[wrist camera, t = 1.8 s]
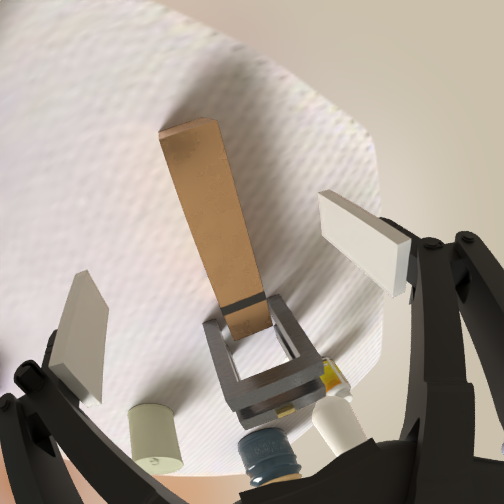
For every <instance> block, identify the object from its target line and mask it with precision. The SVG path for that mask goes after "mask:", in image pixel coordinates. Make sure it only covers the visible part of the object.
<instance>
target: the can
mask: <svg viewBox="0 0 504 504" xmlns="http://www.w3.org/2000/svg"><path fill="white" fill-rule="evenodd" d="M128 419H129V429H130V440H131V451H132V460H133V461H134V462H135V463H136V464H137V465H139V466H140V467H141V468H142V469H143V470H145V471H146V472H147V473H148V474H168V473H172V472H175V471H178V470H180V469H181V468H182V467H183V461H182V458H181V453H180V449H179V445H178V440H177V435H176V430H175V424H174V414H173V412H172V411H171V410H170V409H169V408H167V407H165V406H163V405H159V404H141V405H137V406H135V407H133V408H132V409H130V410H129V412H128Z"/></svg>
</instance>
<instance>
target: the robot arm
mask: <svg viewBox="0 0 504 504" xmlns="http://www.w3.org/2000/svg"><path fill="white" fill-rule="evenodd" d="M318 201H319V210H320V220H321V230H322V236H323V237H324V238H325V239H326V240H328V241H329V242H330V243H331V244H332V245H333V246H335V247H336V248H337V249H338V250H339V251H340V252H342V253H343V254H344V255H345V256H346V257H347V258H348V259H350V260H351V261H352V262H353V263H354V264H355V265H356V266H357V267H359V268H360V269H361V270H362V271H363V272H364V273H365V274H366V275H368V276H369V277H370V278H371V279H372V280H373V281H374V282H375V283H376V284H378V285H379V286H380V287H381V288H382V289H383V290H384V291H385V292H386V293H387V294H388V295H390V296H391V297H392V298H394V297H396V296H398V295H400V294H402V293H404V292H405V289H406V281H408V282H409V283H410V284H411V285H412V290H411V296H410V301H409V304H411V309H412V310H411V315H412V317H411V355H410V372H409V384H408V396H407V404H406V412H405V419H404V424H403V428H402V431H401V435H400V438H399V440H393V441H384V442H378V443H375V441H374V440H373V438H370V439H368V440H367V441H365V442H363V443H361V444H359V445H357V446H355V447H354V448H352V449H350V450H348V451H346V452H344V453H342V454H340V455H339V456H338V457H337V458H336V459H334V460H333V461H332V462H330V463H329V464H328V465H327V466H325V467H324V468H323V469H321V470H320V471H319V472H317V473H316V474H314V475H313V476H311V477H306V478H300V479H294V480H287V481H279V482H272V483H269V484H266V485H263V486H260V487H257V488H254V489H251V490H247V491H244V492H241V493H239V495H240V498H241V500H239V501H237V502H235V503H234V504H504V461H498V460H492V459H486V458H480V457H475V456H474V438H475V394H474V386H473V384H472V383H468V382H467V379H466V367H465V354H464V344H463V335H462V327H461V320H460V313H461V315H462V317H463V320H464V322H465V324H466V327H467V329H468V331H469V333H470V336H471V339H472V341H473V344H474V346H475V349H476V351H477V354H478V356H479V359H480V362H481V365H482V367H483V370H484V373H485V376H486V379H487V382H488V385H489V388H490V391H491V395H492V398H493V401H494V405H495V408H496V411H497V414H498V418H499V421H500V423H501V425H502V427H503V430H504V269H503V268H502V267H501V265H500V264H499V262H498V261H497V260H496V259H495V257H494V256H493V254H492V253H491V252H490V250H489V249H488V248H487V246H486V245H485V244H484V243H483V241H482V240H481V239H480V238H479V237H478V236H477V235H476V234H474V233H472V232H469V231H461V232H458V233H457V234H456V236H455V242H453V243H448V244H444V243H443V242H442V241H441V240H439V239H436V238H431V237H426V238H422V239H421V238H419V237H418V236H416V235H414V234H413V233H411V232H410V231H408V230H406V229H404V228H403V227H402V226H400V225H398V224H397V223H395V222H393V221H392V220H390V219H386V218H383V217H380V218H377V217H376V216H374V215H373V214H371V213H369V212H368V211H366V210H364V209H363V208H361V207H359V206H357V205H356V204H354V203H352V202H351V201H349V200H347V199H345V198H344V197H342V196H340V195H338V194H337V193H335V192H333V191H331V190H325V191H322V192H319V193H318ZM459 311H460V313H459ZM108 314H109V308H108V306H107V304H106V303H105V301H104V299H103V298H102V296H101V294H100V292H99V290H98V289H97V287H96V285H95V283H94V281H93V280H92V278H91V276H90V274H89V272H88V270H85V271H82V272H80V273H77V274H76V275H75V277H74V280H73V283H72V286H71V289H70V292H69V295H68V298H67V301H66V304H65V307H64V310H63V313H62V317H61V320H60V323H59V327H58V329H56V330H54V331H53V333H52V334H51V336H50V338H49V340H48V344H47V348H46V351H45V355H44V359H43V363H42V367H41V368H40V367H39V366H38V364H37V363H36V362H35V361H33V360H27V361H25V362H23V363H22V364H21V365H20V366H19V367H18V368H17V370H16V372H15V374H14V383H15V384H16V385H17V386H18V387H19V388H20V389H21V390H22V391H23V392H24V393H25V395H23V396H22V397H20V398H18V399H17V398H16V397H15V396H14V395H13V394H11V393H6V394H4V395H3V396H2V397H0V443H1V449H2V454H3V458H4V463H5V467H6V471H7V475H8V479H9V482H10V486H11V489H12V493H13V495H14V499H15V502H16V504H84V503H83V501H82V499H81V497H80V495H79V493H78V491H77V489H76V487H75V485H74V483H73V481H72V479H71V477H70V474H69V472H68V470H67V468H66V465H65V463H64V461H63V458H62V456H61V453H60V451H59V448H58V446H57V443H58V445H59V446H60V447H61V449H62V450H63V451H64V453H65V454H66V455H67V457H68V458H69V459H70V461H71V462H72V463H73V464H74V466H75V467H76V468H77V469H78V471H79V472H80V473H81V474H82V475H83V477H84V478H85V479H86V480H87V481H88V482H89V484H90V485H91V486H92V487H93V488H94V489H95V490H96V491H97V493H98V494H99V495H100V496H101V497H102V498H103V499H104V500H105V501H106V502H107V503H108V504H189V503H187V502H186V501H184V500H183V499H181V498H180V497H178V496H177V495H176V494H174V493H173V492H171V491H170V490H169V489H167V488H166V487H165V486H163V485H162V484H161V483H160V482H158V481H157V480H155V479H154V478H153V477H152V476H151V475H149V474H148V473H147V472H146V471H145V470H143V469H142V468H141V467H140V466H139V465H137V464H136V463H135V462H134V461H133V460H132V459H131V458H129V457H128V456H127V455H126V454H125V453H124V452H123V451H122V450H121V449H120V448H118V447H117V446H116V445H115V444H114V443H113V442H112V441H111V440H110V439H109V438H108V437H107V436H106V435H105V434H104V433H103V432H102V431H101V430H100V429H99V428H98V427H97V426H96V425H95V424H94V423H93V422H92V421H91V419H90V418H89V417H88V416H87V415H86V414H85V413H84V412H83V411H82V410H81V409H80V408H79V400H80V401H81V402H82V403H83V404H84V405H85V406H86V407H92V406H97V405H102V381H103V364H104V351H105V340H106V331H107V322H108ZM56 442H57V443H56ZM501 449H502V453H503V455H504V443H503V444H502V448H501Z"/></svg>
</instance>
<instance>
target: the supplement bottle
mask: <svg viewBox="0 0 504 504" xmlns="http://www.w3.org/2000/svg"><path fill="white" fill-rule="evenodd" d="M322 359H323V364H324V375H322V376H320V378H321V380H322V381H323V383H324V384H325V386H326V396H327V395H329V396H338V397H342V398H344V399H346V400H347V401H348V402H349V403H350V402H351V401H352V399H353V396H352V395H351V393H350V389H351V386H350V384H349V383H348V381H347V380H346V378H345V377H344V375H343V374H342V372H341V371H340V370H339V368H338V367H337V365H336V364H335V362H334V361H333V360H332V359H331V358H329V357H325V358H322Z"/></svg>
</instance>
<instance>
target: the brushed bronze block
mask: <svg viewBox="0 0 504 504" xmlns="http://www.w3.org/2000/svg"><path fill="white" fill-rule="evenodd" d="M158 133H159V141H160V144H161V147H162V150H163V153H164V156H165V159H166V162H167V165H168V168H169V171H170V174H171V177H172V180H173V183H174V186H175V189H176V191H177V194H178V197H179V200H180V203H181V206H182V208H183V211H184V214H185V217H186V219H187V222H188V225H189V228H190V230H191V233H192V236H193V238H194V241H195V244H196V246H197V249H198V252H199V254H200V257H201V260H202V262H203V265H204V267H205V270H206V272H207V275H208V278H209V280H210V283H211V285H212V288H213V290H214V293H215V295H216V298H217V300H218V303H219V306H220V309H221V311H222V313H223V316H224V317H225V320H226V322H227V325H228V327H229V329H230V332H231V334H232V336H233V339H234V341H236V340H239V339H241V338H244V337H247V336H249V335H252V334H254V333H257V332H259V331H262V330H264V329H267V328H269V327H272V326H273V323H272V320H271V316H270V312H269V309H268V305H267V301H266V296H265V292H264V290H263V287H262V283H261V279H260V276H259V272H258V269H257V265H256V261H255V258H254V254H253V250H252V247H251V243H250V239H249V236H248V232H247V228H246V225H245V221H244V217H243V214H242V210H241V206H240V203H239V199H238V196H237V192H236V188H235V185H234V181H233V177H232V174H231V170H230V166H229V163H228V159H227V155H226V152H225V148H224V145H223V141H222V137H221V134H220V130H219V126H218V123H217V121H216V120H212V119H207V118H200V119H196V120H193V121H190V122H187V123H184V124H181V125H178V126H175V127H172V128H169V129H166V130H163V131H161V132H158Z"/></svg>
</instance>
